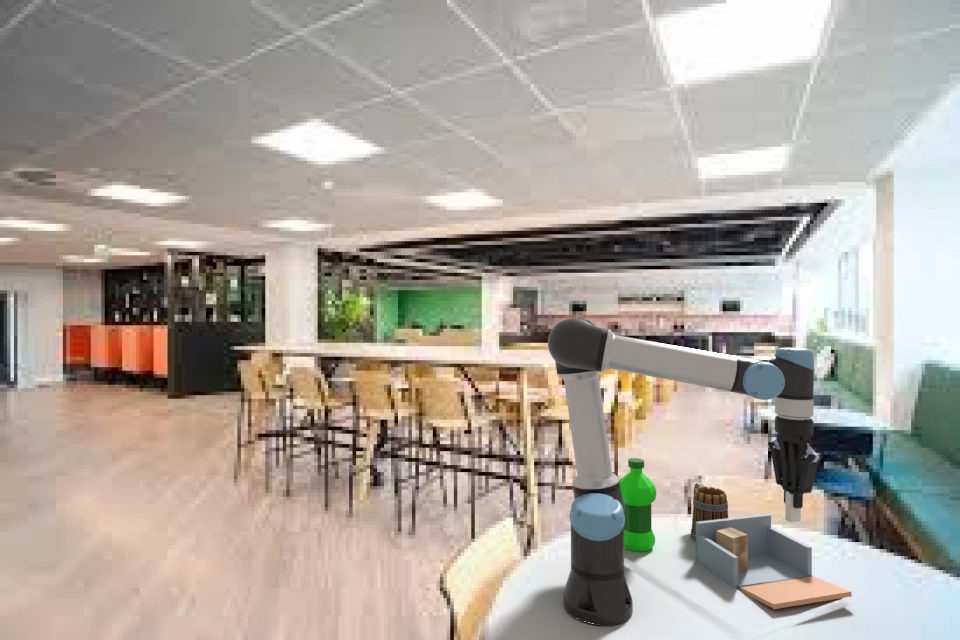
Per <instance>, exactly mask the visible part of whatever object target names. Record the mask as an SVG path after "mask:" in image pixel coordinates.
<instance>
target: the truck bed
mask: <svg viewBox="0 0 960 640" xmlns="http://www.w3.org/2000/svg"><path fill="white" fill-rule="evenodd" d="M730 527H731V528H734V529H736V530H738V531H740V532H743V533H745V534H747V535H748V571H746V572H742V573H739V574H738V557H737V556H736V555H734V554H732V553H731V552H729V551H728V550H726V549H724V548H723V547H721V546H720V545H718V544H716V531H717V530H721V529H726V528H730ZM812 550H813V547H812V546H810V545H809V544H807V543H805V542H803V541H800V540H798V539H796V538H794V537H792V536H791V535H788V534H786V533H784V532H783V531H781V530H779V529H777V528H775V527H772V514H769V513H761V514H754V515H745V516H735V517H728V518H726V519H717V520H708V521H699V522H696V542H695V561H696V562H697V563H699V564H700V565H701V566H702V567H704V568H705V569H707V570H708V571H709V572H711V573H712V574H714V575H715V576H717V577H718V578H719V579H721V580H722V581H723V582H725V583H727V584H728V585H729V586H730V587H732V588H733V589H735V588H737V587H738V586H742V585H748V584H755V583H762V582H768V581H775V580H782V579H788V578H795V577H802V576H808V575H812V574H813V570H812V569H813V564H812V563H813V555H812V554H813V551H812ZM812 576H813V575H812Z"/></svg>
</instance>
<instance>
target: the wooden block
mask: <svg viewBox="0 0 960 640" xmlns="http://www.w3.org/2000/svg"><path fill="white" fill-rule="evenodd" d="M716 544H718V545H720V546H721V547H723V548H724V549H726V550H728V551H729V552H731V553H732V554H734V555H736V556H737V557H738V574H739V573H742V572H746V571H748V535H747V534H745V533H743V532H740V531H738V530H736V529H734V528H731V527H730V528H726V529H721V530H717V531H716Z"/></svg>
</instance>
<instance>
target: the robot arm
mask: <svg viewBox="0 0 960 640" xmlns="http://www.w3.org/2000/svg"><path fill="white" fill-rule="evenodd" d="M547 348H548V351H549V354H550V356H551V358H552V359H553V360H554V361H555V370H556V375H557V376H558V377H560V379H562V380H563V383H564V391H565V397H566V403H567V405H566V406H567V410H568V418H569V419H568V420H569V427H570V433H571V434H570V435H571V439H572V447H573V454H574V455H573V456H574V461H575V469H576V475H575V477H574V479H572V482H571V483H572V490H573V491H572V492H573V498H574V499H573V501H572V503H571V506H570V512H569V521H570V571H569V574H568V578H567V580H566V583H565V587H564V589H563V593H562V598H563V599H562V601H563V604H564V605H563V608H564V607H565V608H564V609H566V610H567V611H568V612H569V613H570V614H571V615H572V616H573V617H572V616H571V615H570V614H569V613H568V612H567V611H566V610H565V611H566V612H567V613H568V614H569V615H570V616H571V617H572V618H574V617H575V618H574V619H576V618H578V619H580V620H582V621H586V622H590V623H594V624H599V625H598V626H601V625H609V626H616V625H620V624H622V623H625V622H627V621H628V620H629V619H630V618H631V617H632V615H633V613H634V612H633V611H634V610H633V609H634V608H633V607H634V606H633V604H634V603H633V602H634V601H633V597H632V595H631V592H630V589H629V588H630V587H629V584H628V583H627V578H626V576H625V548H624V524H625V516H624V512H625V504H624V499H623V498H622V494H621V487H620V477H619V476H618V475H616V474H615V473H614V472H613V469H612V463H611V454H610V448H609V441H608V440H609V439H608V435H607V434H608V433H607V426H606V419H605V413H604V405H603V398H602V391H601V385H600V383H601V382H600V375H601V374H602V373H603V372H605V371H607V370H609V369H610V370H613V371H618V372H626V373H630V374H636V375H642V376H647V377H652V378H657V379H661V380H662V379H663V380H668V381H674V382H680V383H684V384H689V385H695V386H699V387H705V388H711V389H716V390H721V391H726V392H727V391H728V392H732V393H734V394H741V395H746V396H749V397H751V398H753V399H756V400H763V401H767V400H772V399H774V414H776V415H775V417H774V431H775V433H777V435H776V439H774V440H769V441H767V446H768V447H769V448H768V449H769V450H770V453H771V459H772V465H773V471H774V476H775V482H776V484H777V485H780V487H781V488H782V490H783V503H784V505H785V509H784V510H785V513H784V515H785V516H784V517H785V521H787V522H789V523H795V522H796V523H797V522H801V517H802V516H801V515H802V514H801V513H802V511H801V510H802V509H803V507H804V506H803V505H804V504H803V502H804V494H811V493H812V490H813V486H814V482H815V478H816V474H817V470H818V465H819V463H820V461H821V460H822V459H823V454H822V453H821V452H818V453H817V452H816V451H815V450H814V449H813V444H812V440H811V438H812V436H813V435H814V428H815V427H814V422H815V420H813V418H812V417H813V416H814V408H815V407H814V403H815V401H814V400H815V399H814V391H815V390H814V386H815V371H816V368H815V357H814V353H813V351H812V350H811V349H809V348H805V347H804V348H803V347H778V348H776V349H775V352H774V353H775V354H774V355H771V356H758V355H757V356H756V355H754V356H753V355H736V354H733V355H730V354H726V353H725V354H724V353H717V352H715V351H714V352H713V351H707V350H701V349H696V348H692V347H691V348H690V347H685V346H679V345H673V344H667V343H661V342H657V341H651V340H645V339H639V338H634V337H629V336H623V335H617V334H614V332H613V331H612V330H611V329H609V328H605V327H603V328H602V327H599V326H596V325H595V324H594V323H593V322H592V321H590V320H589V319H586V318H583V317H571V318H566V319H563V320H561V321H559V322H558V323H556V324H555V325H554V326H553V327H552V329H551V330H550V333H549V335H548V338H547ZM578 619H577V620H578ZM580 620H579V621H580ZM582 621H581V622H582ZM615 624H616V625H615Z"/></svg>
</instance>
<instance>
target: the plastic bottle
mask: <svg viewBox="0 0 960 640" xmlns="http://www.w3.org/2000/svg"><path fill="white" fill-rule="evenodd" d="M627 465H628V468H629V472H628V473H627V474H625V475H624V476H623V477H621V478H619V480H620V487H621V494H622V498H623V499H624V504H625V512H624V516H625V524H624V550H625V549H626V550H629V551H633V552H638V553H640V552H642V553H643V552H648V551H649V550H652V549H653V548H654V547H655V544H656V537H655V533H654V532H653V529H652V503H654V502H655V501H656V498H657V488H656V486H655V483H654V482H653V481H652V479H650V478H649V477H648V476H647V475H645V474H644V473H643V469H644V468H645V460H644V459H642V458H637V457H634V458H633V457H631V458H628V459H627Z"/></svg>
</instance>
